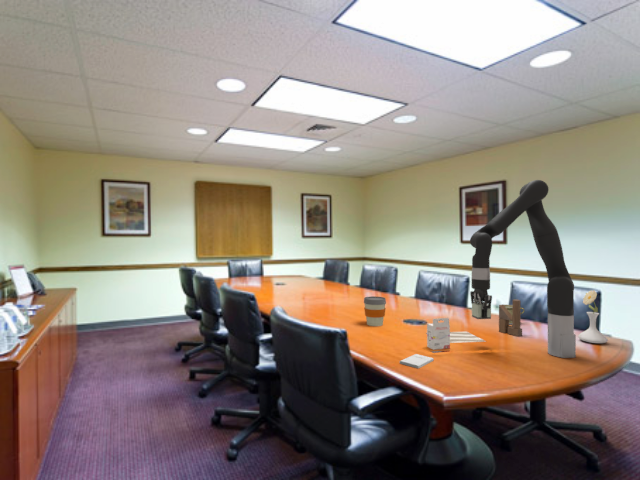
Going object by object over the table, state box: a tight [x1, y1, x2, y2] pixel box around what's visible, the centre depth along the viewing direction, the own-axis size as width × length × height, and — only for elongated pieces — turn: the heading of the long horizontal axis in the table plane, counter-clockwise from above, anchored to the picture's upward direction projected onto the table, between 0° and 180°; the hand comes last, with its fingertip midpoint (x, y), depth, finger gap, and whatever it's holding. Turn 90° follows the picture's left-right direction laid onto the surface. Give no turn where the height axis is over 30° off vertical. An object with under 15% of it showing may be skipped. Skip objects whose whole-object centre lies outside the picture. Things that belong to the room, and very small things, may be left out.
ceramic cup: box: [503, 304, 525, 326], centre depth 211 cm, size 13×10×10 cm
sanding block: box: [471, 303, 492, 320], centre depth 162 cm, size 5×6×6 cm
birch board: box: [425, 331, 487, 344], centre depth 177 cm, size 18×22×2 cm
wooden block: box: [498, 298, 523, 337], centre depth 189 cm, size 4×11×18 cm, turn 28°
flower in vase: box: [578, 289, 609, 344], centre depth 173 cm, size 13×11×25 cm
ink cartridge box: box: [426, 317, 451, 354], centre depth 161 cm, size 9×5×15 cm, turn 105°
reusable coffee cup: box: [363, 296, 387, 327], centre depth 210 cm, size 13×13×15 cm
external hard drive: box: [399, 353, 434, 369], centre depth 146 cm, size 2×8×12 cm
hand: (480, 316), depth 162 cm, fingers closed on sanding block, 5 cm apart
